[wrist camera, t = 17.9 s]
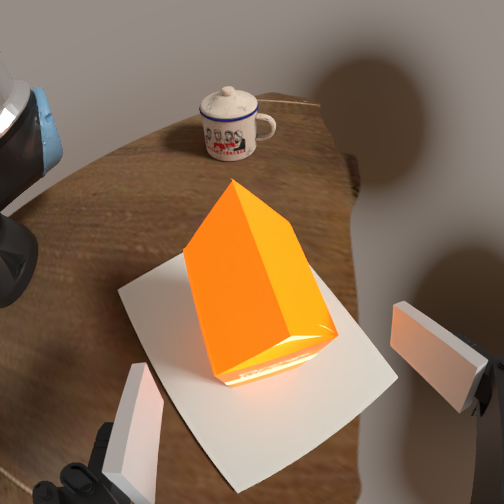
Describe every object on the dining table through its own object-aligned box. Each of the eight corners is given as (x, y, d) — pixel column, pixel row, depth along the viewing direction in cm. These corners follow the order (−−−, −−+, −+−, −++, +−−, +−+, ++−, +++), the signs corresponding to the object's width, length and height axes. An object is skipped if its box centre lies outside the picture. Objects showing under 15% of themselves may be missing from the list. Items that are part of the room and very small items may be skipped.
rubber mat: (119, 291, 33) (117, 289, 33) (262, 212, 39) (262, 209, 39) (237, 491, 22) (237, 493, 21) (396, 378, 28) (398, 377, 27)
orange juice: (231, 388, 27) (194, 366, 10) (209, 313, 31) (159, 194, 14) (301, 366, 28) (376, 305, 11) (275, 295, 33) (299, 162, 15)
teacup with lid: (197, 160, 45) (187, 101, 35) (214, 129, 49) (209, 75, 39) (269, 169, 44) (272, 107, 34) (278, 136, 48) (282, 81, 38)
